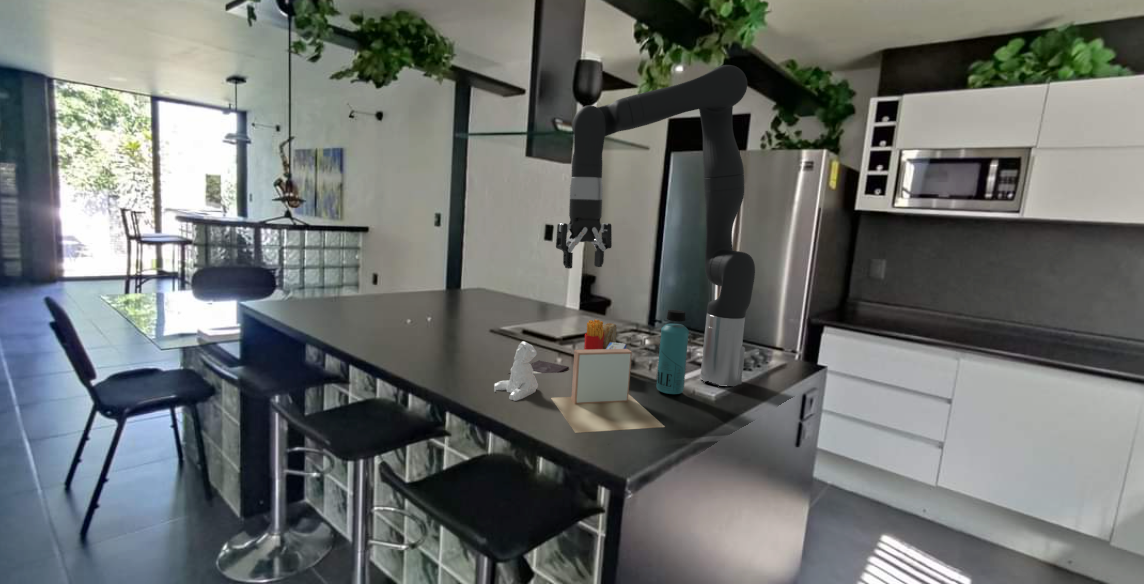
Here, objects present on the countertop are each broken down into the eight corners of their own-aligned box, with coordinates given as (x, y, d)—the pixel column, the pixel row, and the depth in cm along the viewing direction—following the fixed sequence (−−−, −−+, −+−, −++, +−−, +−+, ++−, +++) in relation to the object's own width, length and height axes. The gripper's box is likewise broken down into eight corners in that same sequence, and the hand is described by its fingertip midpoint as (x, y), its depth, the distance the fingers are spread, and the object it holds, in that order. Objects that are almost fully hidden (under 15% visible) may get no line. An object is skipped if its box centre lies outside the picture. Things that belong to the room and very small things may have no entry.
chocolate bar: (568, 366, 137) (532, 385, 122) (568, 370, 137) (531, 389, 122) (539, 360, 141) (499, 377, 126) (538, 363, 142) (499, 381, 126)
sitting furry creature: (490, 391, 117) (493, 338, 116) (524, 385, 123) (526, 334, 121) (512, 405, 110) (514, 349, 108) (546, 398, 115) (549, 344, 113)
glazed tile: (623, 397, 116) (627, 348, 114) (628, 401, 114) (632, 352, 112) (571, 399, 113) (574, 349, 111) (574, 404, 110) (578, 353, 108)
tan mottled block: (604, 352, 155) (606, 319, 153) (616, 354, 154) (619, 321, 152) (594, 361, 145) (597, 326, 144) (607, 363, 144) (610, 327, 143)
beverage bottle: (685, 393, 123) (693, 309, 120) (681, 402, 117) (689, 314, 114) (657, 389, 126) (664, 306, 122) (652, 397, 119) (659, 310, 116)
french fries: (594, 370, 138) (597, 325, 136) (580, 367, 139) (583, 323, 137) (604, 362, 145) (607, 319, 144) (590, 359, 147) (593, 317, 145)
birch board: (628, 397, 118) (628, 394, 118) (664, 430, 101) (665, 426, 101) (550, 401, 113) (550, 397, 113) (575, 436, 96) (575, 432, 96)
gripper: (569, 197, 115) (566, 271, 118) (620, 198, 123) (617, 268, 126) (551, 196, 122) (549, 266, 124) (601, 198, 129) (598, 264, 132)
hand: (583, 267), depth 125 cm, fingers open, 8 cm apart
